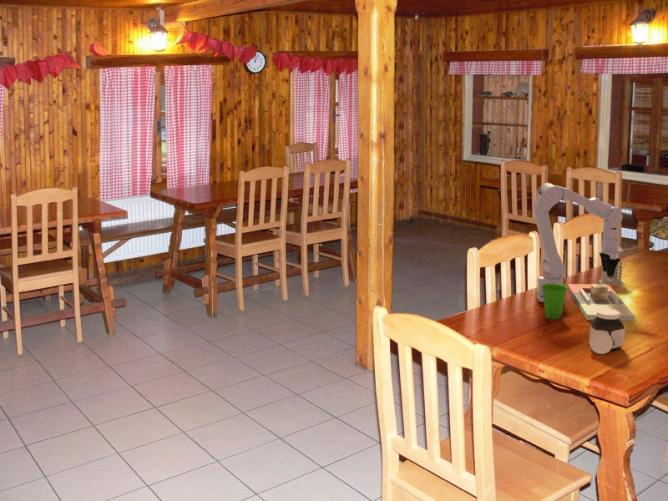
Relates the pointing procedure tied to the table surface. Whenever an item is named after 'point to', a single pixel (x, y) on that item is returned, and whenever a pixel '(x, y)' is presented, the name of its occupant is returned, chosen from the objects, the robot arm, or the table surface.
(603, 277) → the french press
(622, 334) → the spread jar
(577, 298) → the chute board
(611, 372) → the table surface
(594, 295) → the maple block
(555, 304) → the cup
